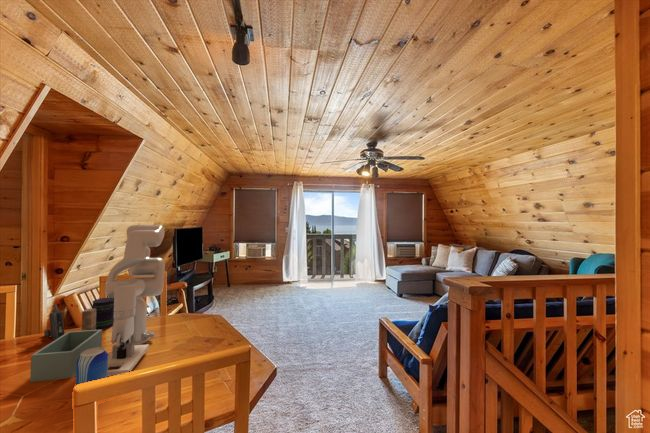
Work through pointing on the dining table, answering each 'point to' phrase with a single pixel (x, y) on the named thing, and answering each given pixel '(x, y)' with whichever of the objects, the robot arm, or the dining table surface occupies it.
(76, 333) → the toolbox
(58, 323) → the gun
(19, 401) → the dining table surface
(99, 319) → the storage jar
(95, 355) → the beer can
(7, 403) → the dining table surface
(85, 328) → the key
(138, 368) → the dining table surface
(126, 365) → the lid
